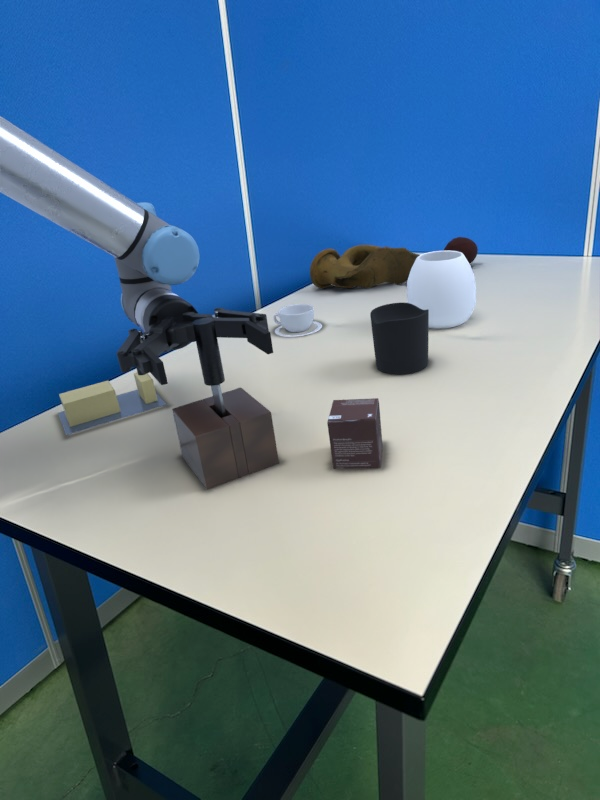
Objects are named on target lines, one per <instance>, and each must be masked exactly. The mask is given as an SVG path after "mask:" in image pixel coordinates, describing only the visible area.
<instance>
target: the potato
mask: <svg viewBox="0 0 600 800" xmlns="http://www.w3.org/2000/svg"><path fill="white" fill-rule="evenodd" d="M448 250H450V251H458V252H461V253H463V254H464V256H465V257H466V259H467V261H468V262H469V264H470V265H471V264H472V263H473V262H474V261H475V260H476V258H477V255H478V251H479V249H478V245H477V244H476V242H475V241H474V240H473V239H471V238H469V237H465V236H458V237H457V236H456V237H453V238H452V239H451V240H449V241H448V242H447V243H446V245H445V247H444V248H443V251H448Z"/></svg>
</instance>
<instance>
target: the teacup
mask: <svg viewBox="0 0 600 800" xmlns="http://www.w3.org/2000/svg"><path fill="white" fill-rule="evenodd" d="M277 317H278V318H279V320H278V319H277ZM314 319H315V306H314V305H312V304H309V303H295V304H289V305H287V306H284V307H281V308H279V309H278V311H277V313H275V314H274V315H273V321H274V323H275V324H277V325H278V327H276V328H275V329H274V334H275V335H277V336H280V337H285V338H296V337H303V336H308V335H312V334H315V333H316V332H318V331H320V330H321V329H322V328H323V325H322V323H321V322H319V321H314ZM312 324H313V325H315V326H316V328H315V329H314V330H312V331H309V332H306V331H308V330H309V329H310V327H311V326H312ZM279 325H280V326H279ZM282 328H284V329H285V330H286V331H287V332H289V333H301V332H306V333H302V334H284V333H281V332H280V330H281V329H282Z"/></svg>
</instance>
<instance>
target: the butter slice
mask: <svg viewBox="0 0 600 800" xmlns="http://www.w3.org/2000/svg"><path fill="white" fill-rule="evenodd" d="M133 377H134V380H135V385H136V390H138V393H139V395H140V396H141V398H142V399H143V400H144V402H145V403H146V404H148V403H152V402H155V401H158V399H157V395H156V393H157V392H156V386H155V383H154V379H153V378H152V376H151V375H150V374H149V373H147V374H145V375H138V373H137V372H134V373H133Z"/></svg>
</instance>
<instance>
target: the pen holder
mask: <svg viewBox="0 0 600 800" xmlns="http://www.w3.org/2000/svg"><path fill="white" fill-rule="evenodd" d="M369 314H370V315H369V316H370V323H371V324H370V325H371V334H372V341H373V352H374V358H375V367H376V369H377V370H378V371H379V372H381V373H383V374H387V375H391V376H405V375H412V374H416V373H419V372H422V371H423V370H425V369H426V368H427V367H428V366H429V365H428V364H429V332H430V331H429V329H430V328H429V310H428V309H427V310H422V309H420V308H419V307H417V306H415V305H413V304H410V303H407V302H393V303H386V304H382V305H379V306H377V307H375V308H373V309H372V310H370V313H369Z"/></svg>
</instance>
